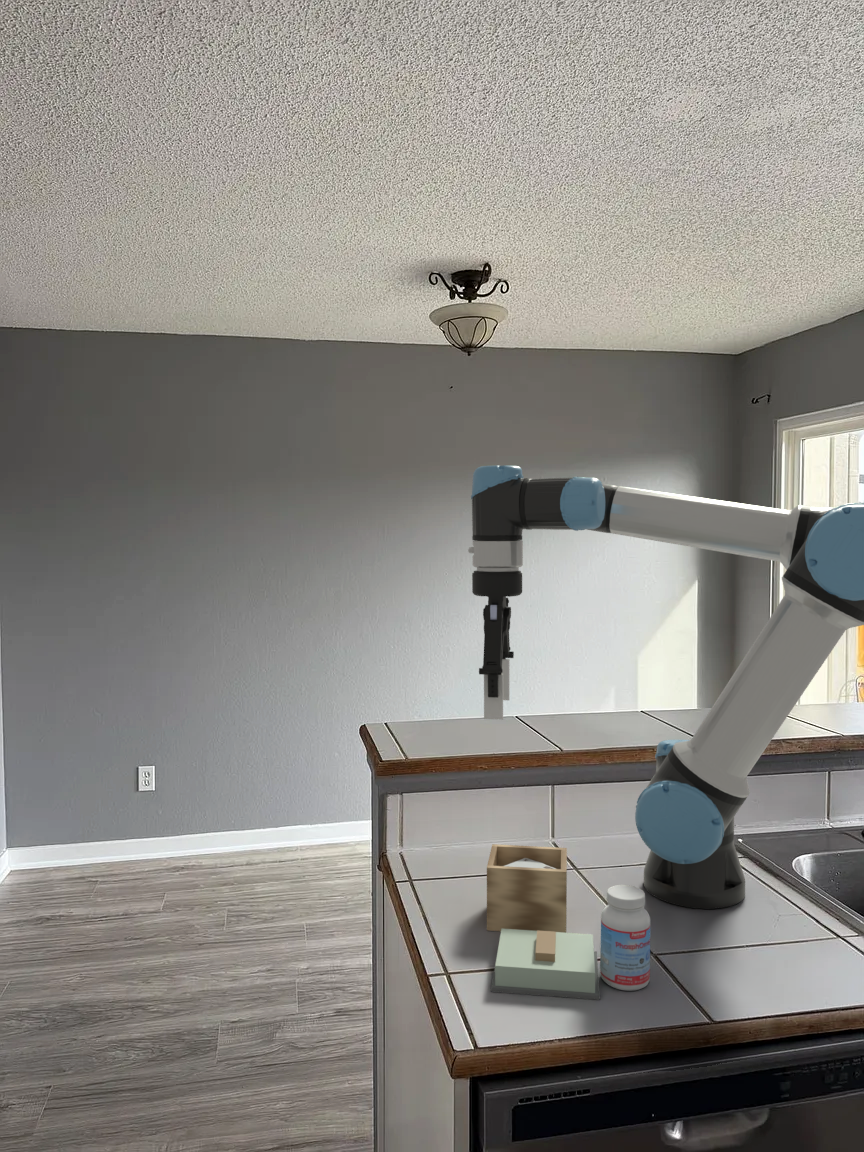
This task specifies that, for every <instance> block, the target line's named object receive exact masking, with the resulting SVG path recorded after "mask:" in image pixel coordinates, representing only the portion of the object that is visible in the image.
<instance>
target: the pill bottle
mask: <svg viewBox="0 0 864 1152" xmlns="http://www.w3.org/2000/svg"><path fill="white" fill-rule="evenodd" d="M606 901H607V905H606V906H605V907H604V908H603V909H602V911H601V913H600V948H599V950H600V954H599V957H600V959H599V961H600V962H599V969H600V970H599V973H600V975H599V976H600V978H601V979H602V981H604V983H606V984H607V985H608V986H610V987H612V988H614V989H617V990H621V991H628V992H629V991H631V992H633V991H638V990H642V989H643V988H645V987H647V986H648V984H649V983H650V980H651V979H650V977H651V976H650V974H651V916H650V914H649V912H648V911H647V910H646V909H645V906H646V893H645V891H644V890H643V889H641V888H640V887H637V886H635V885H629V884H616V885H612V886H610V887H609V888H607V891H606Z"/></svg>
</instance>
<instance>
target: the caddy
mask: <svg viewBox="0 0 864 1152" xmlns="http://www.w3.org/2000/svg"><path fill="white" fill-rule="evenodd" d="M567 850H568V848H567V847H556V846H554V847H553V846H536V845H535V846H534V845H516V844H515V845H513V844H499V843H498V844H495V843H492V845H491V849H490V852H489V853H490V854H489V857H488V862H487V865H486V931H490V932H491V931H492V932H501V929H517V930H533V931H537V930H539V931H554V932H563V933H567V912H568V911H567V903H568V902H567V895H568V894H567V893H568V892H567V883H568V881H567V880H568V879H567V877H568V876H567V875H568V873H567V872H568V870H567V868H568V866H567V865H568V862H567V861H568V857H567V855H568V851H567ZM523 858H529V859H531V860H534V861H538V862H541V863H544V864H545V865H548V866H550V867H553V868H556V869H545V868H526V867H508V866H505V865H508V864H510V863H513V862H516V861H518V860H521V859H523Z"/></svg>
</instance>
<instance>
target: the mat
mask: <svg viewBox="0 0 864 1152" xmlns="http://www.w3.org/2000/svg"><path fill="white" fill-rule="evenodd" d="M498 947H499V944H498V945H497V948H498ZM497 953H498V949H497V951H496V954H497ZM496 959H497V955H496V956H495V960H496ZM594 962H595V993H587V992H574V991H561V990H547V989H534V988H521V987H507V986H495V967H494V968H493V974H492V980H491V981H492V982H491V986H490V992H493V993H494V992H495V993H505V994H518V995H519V994H521V995H531V996H532V995H533V996H534V995H535V996H545V997H555V998H557V997H558V998H573V999H584V1000H598V1001H600V999H601V995H600V982H599V981H600V979H599V964H598V951H596V950H594ZM494 963H495V964H494V966H495V965H496V961H495V962H494Z"/></svg>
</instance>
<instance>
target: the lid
mask: <svg viewBox="0 0 864 1152" xmlns="http://www.w3.org/2000/svg"><path fill="white" fill-rule="evenodd" d="M498 941H499V942H498V945H499V947H498V946H497V950H498V953H497V952H496V956H497V959H496V958H495V962H496V965H495V964H494V968H495V986H507V987H521V988H534V989H547V990H561V991H574V992H587V993H595V962H594V951H595V947H594V934H593V933H592V934H591V933H576V932H566V933H563V932H554V931H539V930H537V931H533V930H517V929H501V931H500V935H499V940H498Z"/></svg>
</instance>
